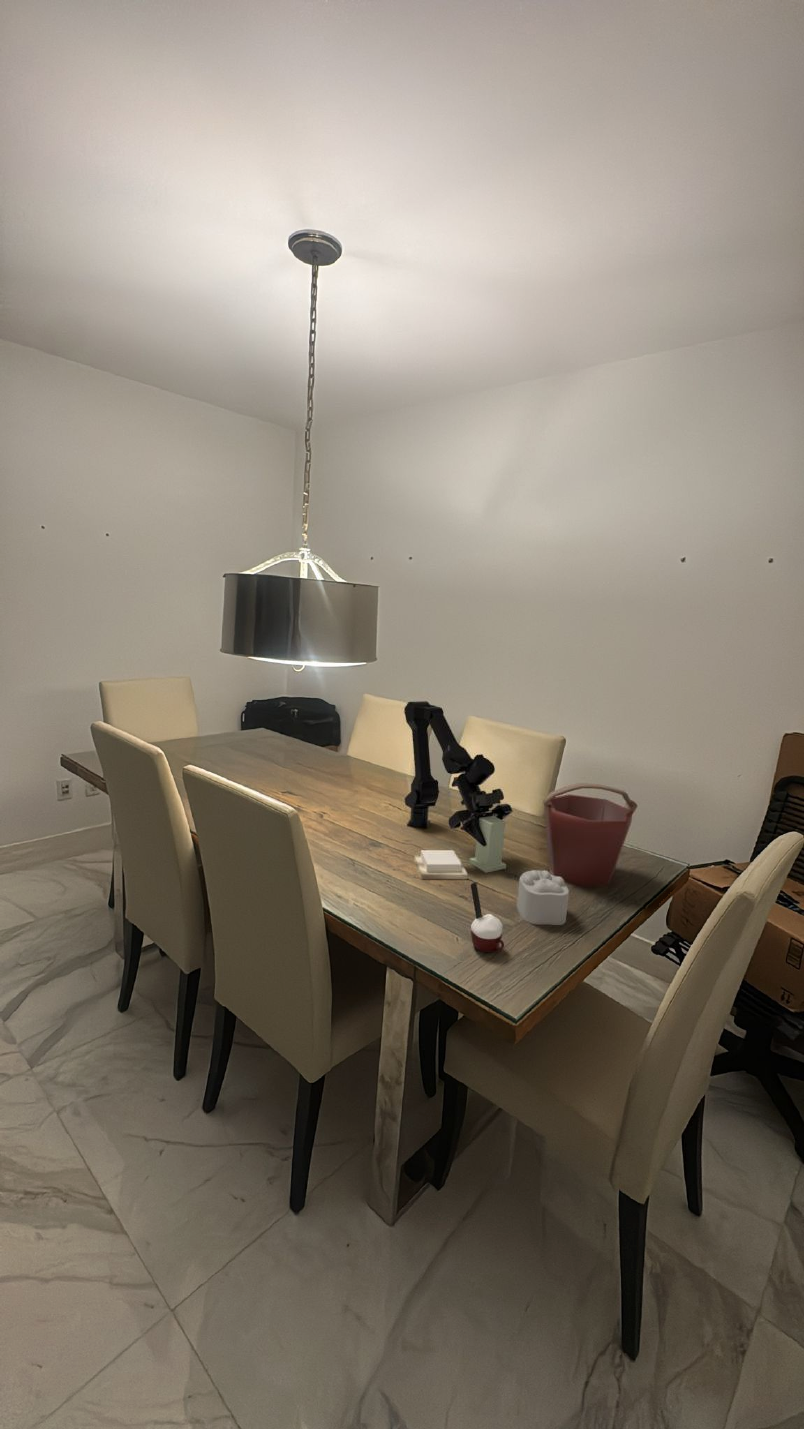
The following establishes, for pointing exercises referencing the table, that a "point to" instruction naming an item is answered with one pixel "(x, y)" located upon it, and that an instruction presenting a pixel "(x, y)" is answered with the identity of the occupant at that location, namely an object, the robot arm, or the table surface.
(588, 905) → the table surface
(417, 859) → the ash base slab
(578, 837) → the bucket
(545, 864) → the table surface
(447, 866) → the whitewashed top slab
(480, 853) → the sage pillar
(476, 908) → the cocoa
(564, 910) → the white paw print block
